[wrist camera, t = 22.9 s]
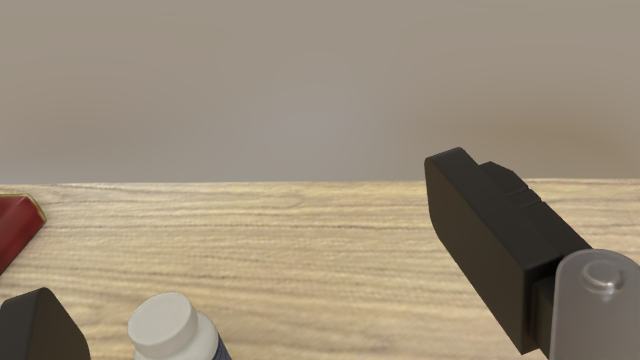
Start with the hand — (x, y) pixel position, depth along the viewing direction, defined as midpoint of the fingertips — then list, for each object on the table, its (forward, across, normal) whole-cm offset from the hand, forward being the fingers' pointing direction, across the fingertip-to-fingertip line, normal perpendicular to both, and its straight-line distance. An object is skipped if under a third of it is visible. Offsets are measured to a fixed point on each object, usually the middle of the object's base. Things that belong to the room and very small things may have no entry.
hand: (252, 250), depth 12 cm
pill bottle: (+16, +8, +27) cm, 32 cm away
